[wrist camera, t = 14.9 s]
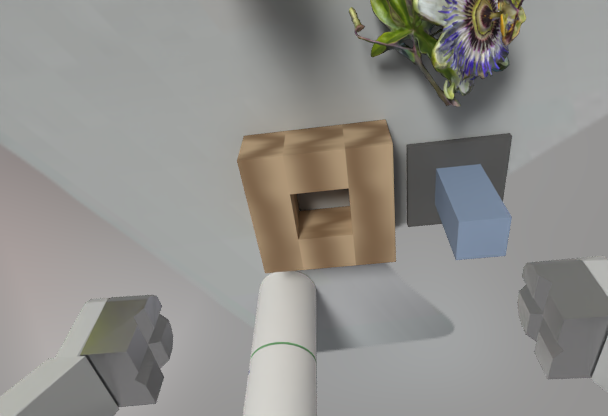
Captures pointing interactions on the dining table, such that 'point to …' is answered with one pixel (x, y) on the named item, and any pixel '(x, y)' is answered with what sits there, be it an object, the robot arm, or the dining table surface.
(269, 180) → the pocket block
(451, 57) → the passion flower
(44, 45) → the dining table surface
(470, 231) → the blue block
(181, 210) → the dining table surface
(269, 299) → the cylindrical container
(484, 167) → the mat
